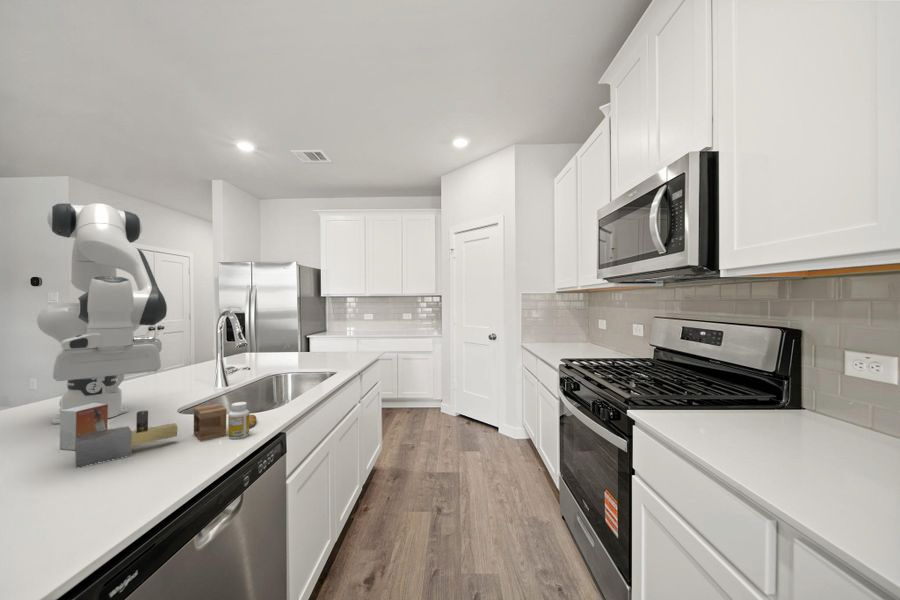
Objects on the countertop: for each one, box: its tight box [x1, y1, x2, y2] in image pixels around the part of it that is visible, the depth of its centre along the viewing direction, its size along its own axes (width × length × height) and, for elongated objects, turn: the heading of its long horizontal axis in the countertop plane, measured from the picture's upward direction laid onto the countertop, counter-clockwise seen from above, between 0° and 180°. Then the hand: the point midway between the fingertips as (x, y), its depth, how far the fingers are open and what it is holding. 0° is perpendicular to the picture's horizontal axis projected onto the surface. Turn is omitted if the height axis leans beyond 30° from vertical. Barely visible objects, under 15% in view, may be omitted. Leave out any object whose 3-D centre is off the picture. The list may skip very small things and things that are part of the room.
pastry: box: [249, 413, 257, 429], centre depth 121 cm, size 9×7×4 cm
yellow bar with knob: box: [131, 410, 178, 447], centre depth 98 cm, size 3×20×8 cm, turn 136°
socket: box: [193, 403, 227, 442], centre depth 111 cm, size 8×6×8 cm
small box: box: [58, 403, 109, 451], centre depth 103 cm, size 8×6×10 cm
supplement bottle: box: [227, 401, 250, 440], centre depth 110 cm, size 5×5×10 cm
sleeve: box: [74, 425, 133, 469], centre depth 94 cm, size 6×10×6 cm, turn 137°
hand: (110, 393), depth 95 cm, fingers closed
